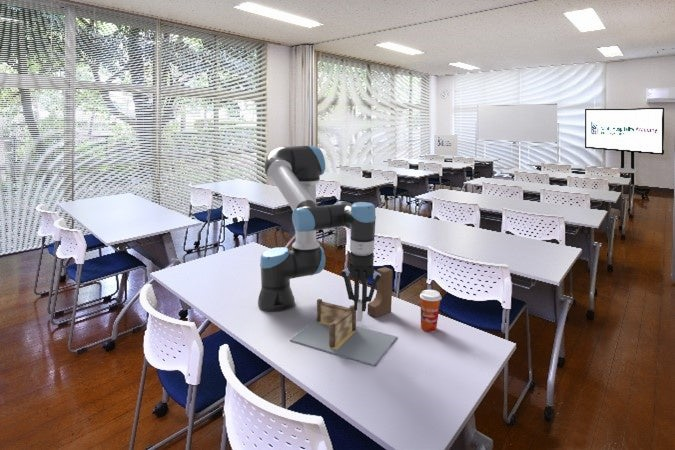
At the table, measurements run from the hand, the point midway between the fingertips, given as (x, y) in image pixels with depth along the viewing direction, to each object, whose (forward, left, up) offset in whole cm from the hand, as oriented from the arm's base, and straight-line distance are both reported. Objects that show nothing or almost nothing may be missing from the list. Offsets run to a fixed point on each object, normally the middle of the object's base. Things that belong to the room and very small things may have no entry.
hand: (359, 319), depth 137 cm
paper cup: (+17, +25, -11) cm, 32 cm away
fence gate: (-8, +2, -10) cm, 13 cm away
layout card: (-7, +3, -11) cm, 14 cm away
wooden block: (-4, +28, -11) cm, 31 cm away
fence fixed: (-14, +10, -11) cm, 21 cm away
